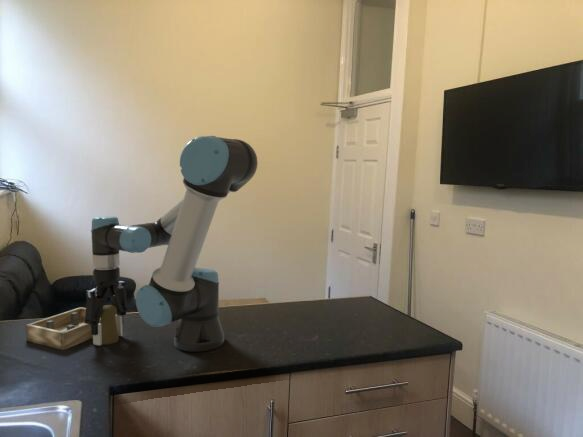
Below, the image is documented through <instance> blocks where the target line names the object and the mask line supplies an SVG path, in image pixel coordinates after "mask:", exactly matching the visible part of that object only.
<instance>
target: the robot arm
mask: <svg viewBox="0 0 583 437" xmlns="http://www.w3.org/2000/svg"><path fill="white" fill-rule="evenodd" d="M179 166H180V168H181V169H180V173H181V175H182V177H183V179H182V184H183V185H184V187H185V192H184V197H182V198H181V199H180V200H179V201H178V202H177V203H175V205H174V206H172V207H171V208H170V209H169V210H167V212H166V213H164V214H163V215H162V216H161V217H160V218H159V219H157V220H156V221H154V222H147V223H139V224H131V225H129V224H127V225H125V224H120V222H119V218H118V217H117V216H114V215H113V216H112V215H111V216H110V215H102V216H95V217H93V218H92V220H91V229H90V232H91V249H92V250H91V251H92V252H91V253H92V255H91V256H92V267H93V269H92V280H93V282H94V286H93V288H92V289H89V290H88V289H87V290H86V291H85V295H86V296H85V297H86V303H85V304H86V306H85V308H86V313H85V323H86V324H91V334H92V335H93V338H92V343H93V344H92V345H96V346H102V345H103V344H102V332H101V324H100V323H99V321H100V317H101V314H102V310H103V306H105V303H106V302H107V300H108V298H109V299H110V302H111V305H113V306H115V307H116V309H117V313H116V315H115V319H116V325H117V331H118V337H122V336H123V334H124V333H123V325H124V316H126V314H127V312H128V311H129V303H128V296H127V289H126V288H127V282H126V281H122V280H119V279H120V277H121V274H120V273H121V272H120V267H119V266H120V252H121V251H122V252H127V253H130V254H134V253H135V254H136V253H137V254H138V253H144V252H145V251H146V250H148V249H149V248H155V247H162V246H167V248H166V252H165V254H164V256H163V258H162V263H161V266H160V267H158V268H155V270H153V271H152V274H151V277H150V280H149V282H148V284H145V285H143V286H141V287H140V288H139V289H138V290H137V292H136V294H135V306H136V309H137V311H138V314H139V316H140V317H141V319H142V320H143V321H144V322H145V323H146V324H147V325H149V326H151V327H154V328H155V327H156V328H157V327H158V328H160V327H162V326H168V325H169V324H172V323H174V322H176V321H178V324H177V327H176V330H175V333H174V337H173V344H174V345H173V346H174V348H176V349H178V350H180V351H183V352H188V353H189V352H191V353H194V352H195V353H199V352H206V351H207V352H208V351H212V350H215V349H218V348H219V347H221V346H222V345H224V342H225V332H224V331H223V327H222V324H221V320H220V318H219V316H220V315H219V303H220V302H219V300H220V298H219V296H220V295H219V291H220V290H219V287H220V286H219V284H220V282H219V273H218V272H217V271H216V270H214V269H212V268H211V269H210V268H203V267H197V266H196V265H197V262H198V260H199V257H200V254H201V252H202V249H203V246H204V243H205V241H206V237H207V235H208V233H209V230H210V226H211V223H212V221H213V219H214V216H215V212H216V209H217V207H218V204H219V202H220V201H221V200H224V199H225V198H227V196H228V194H230V193H236V192H238V191H239V190H240V189H241V188H243V187H244V186H245V185H246V184H247V183H248V182H249V181H251V179H252V178H253V177H254V176H255V174H256V171H257V169H258V156H257V152H256V151H255V150H254V148H253V147H252V146H251V145H250V143H248V142H246V141H244V140H241V139H236V138H225V137H220V136H215V135H206V136H205V135H204V136H203V135H201V136H197V137H195V138H193V139H191V140H190V141H188V142H187V144H186V145H185V146H184V147H183V149H182V151H181V154H180V158H179Z"/></svg>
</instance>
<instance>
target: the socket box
mask: <svg viewBox="0 0 583 437" xmlns="http://www.w3.org/2000/svg"><path fill="white" fill-rule="evenodd" d="M85 313H86V307H82V306H79V307H77V308H73V309H70V310H68V311H65V312H61V313H58V314H55V315H52V316H49V317H46V318H44V319H39V320H37V321H33V322H31V323H28V324H25V334H26V341H27V342H31V343H33V344H38V345H42V346H45V347H50V348H54V349H58V350H62V351H64V350H67V349H69V348H71V347H74V346H77V345H79V344H81V343H84V342H86V341H89V340H92V339H93V335H92V334H91V324H86V323H85ZM100 319H101V317H100ZM99 323H100V321H99Z"/></svg>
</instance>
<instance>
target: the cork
mask: <svg viewBox="0 0 583 437" xmlns="http://www.w3.org/2000/svg"><path fill="white" fill-rule="evenodd" d="M116 313H117V309H116V307H115V306H113V304H106V305H105V304H104V306H103V310H102V314H101V319H100V324H101V332H102V345H112V344H115V343H117V342H118V341H119V340H120V338H119V337H120V336H118V331H117V325H116V319H115V315H117V314H116Z"/></svg>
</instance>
